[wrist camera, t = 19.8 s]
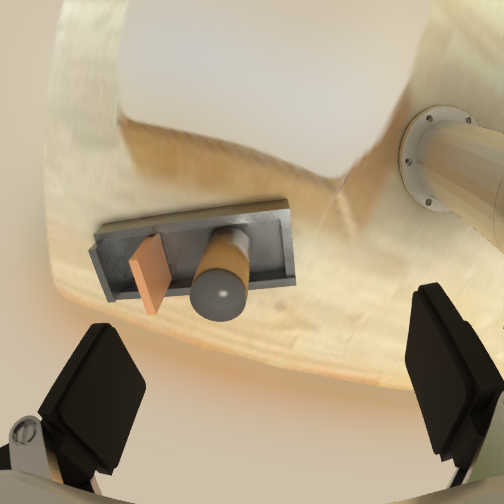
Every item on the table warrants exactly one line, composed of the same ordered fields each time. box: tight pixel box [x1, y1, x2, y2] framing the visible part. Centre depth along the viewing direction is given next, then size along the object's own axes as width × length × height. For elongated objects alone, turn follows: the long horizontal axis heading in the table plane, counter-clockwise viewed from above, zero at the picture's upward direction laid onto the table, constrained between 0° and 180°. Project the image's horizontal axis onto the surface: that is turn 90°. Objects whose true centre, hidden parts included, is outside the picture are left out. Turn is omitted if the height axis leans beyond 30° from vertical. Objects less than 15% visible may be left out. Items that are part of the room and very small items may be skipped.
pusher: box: [129, 233, 172, 315], centre depth 34 cm, size 1×6×7 cm, turn 7°
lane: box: [88, 199, 296, 302], centre depth 35 cm, size 22×9×5 cm, turn 98°
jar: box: [190, 227, 252, 322], centre depth 32 cm, size 5×5×10 cm
